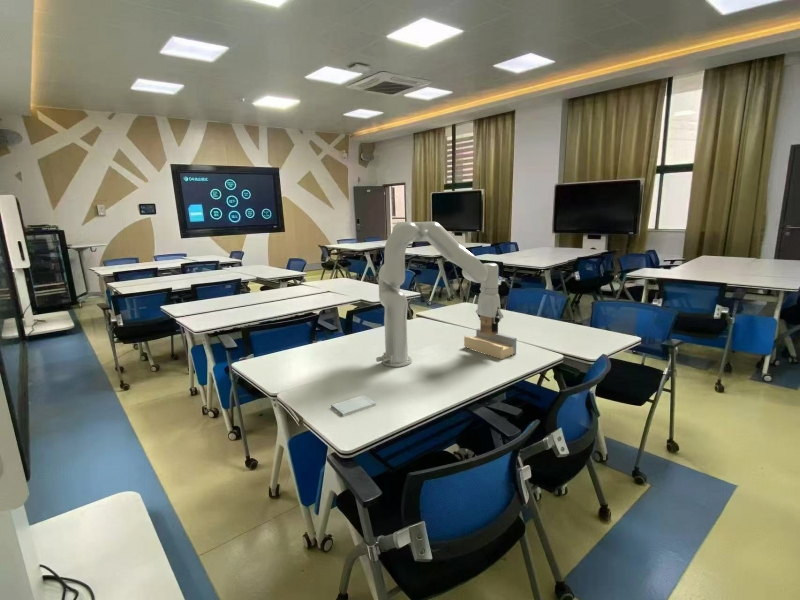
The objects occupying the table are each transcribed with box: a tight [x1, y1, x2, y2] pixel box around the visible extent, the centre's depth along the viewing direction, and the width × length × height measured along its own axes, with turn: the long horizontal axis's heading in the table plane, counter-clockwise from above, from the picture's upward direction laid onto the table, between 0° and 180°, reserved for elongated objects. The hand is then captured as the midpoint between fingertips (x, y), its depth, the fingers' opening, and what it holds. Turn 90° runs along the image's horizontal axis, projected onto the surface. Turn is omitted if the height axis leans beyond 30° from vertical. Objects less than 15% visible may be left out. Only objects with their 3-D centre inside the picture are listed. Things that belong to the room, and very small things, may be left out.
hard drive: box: [330, 394, 377, 417], centre depth 135 cm, size 2×8×12 cm
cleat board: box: [463, 327, 517, 360], centre depth 186 cm, size 10×22×8 cm, turn 36°
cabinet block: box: [479, 314, 499, 336], centre depth 184 cm, size 6×6×9 cm
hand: (489, 329), depth 184 cm, fingers closed on cabinet block, 6 cm apart
